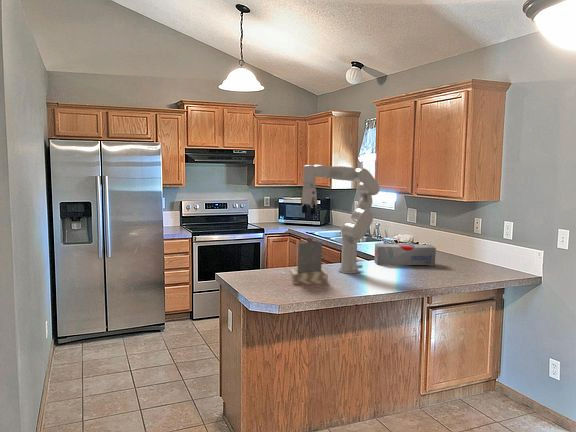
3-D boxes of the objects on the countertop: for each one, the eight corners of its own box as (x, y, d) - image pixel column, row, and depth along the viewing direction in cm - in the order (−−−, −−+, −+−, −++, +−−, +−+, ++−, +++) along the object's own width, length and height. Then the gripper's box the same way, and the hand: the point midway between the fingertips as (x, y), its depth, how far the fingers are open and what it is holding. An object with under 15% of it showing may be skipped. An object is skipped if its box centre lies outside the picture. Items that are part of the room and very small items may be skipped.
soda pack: (430, 263, 340) (431, 244, 338) (435, 267, 327) (436, 247, 326) (373, 261, 340) (374, 242, 339) (376, 265, 327) (377, 245, 326)
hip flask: (299, 273, 272) (300, 239, 270) (295, 271, 275) (296, 237, 273) (322, 270, 280) (323, 237, 278) (318, 269, 283) (319, 236, 281)
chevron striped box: (323, 278, 286) (323, 268, 285) (327, 284, 272) (327, 274, 272) (290, 278, 284) (290, 268, 284) (292, 284, 270) (293, 274, 270)
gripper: (322, 186, 280) (321, 215, 282) (306, 184, 295) (306, 212, 297) (311, 186, 276) (311, 215, 278) (296, 185, 291) (295, 212, 293)
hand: (308, 213), depth 288 cm, fingers open, 9 cm apart
